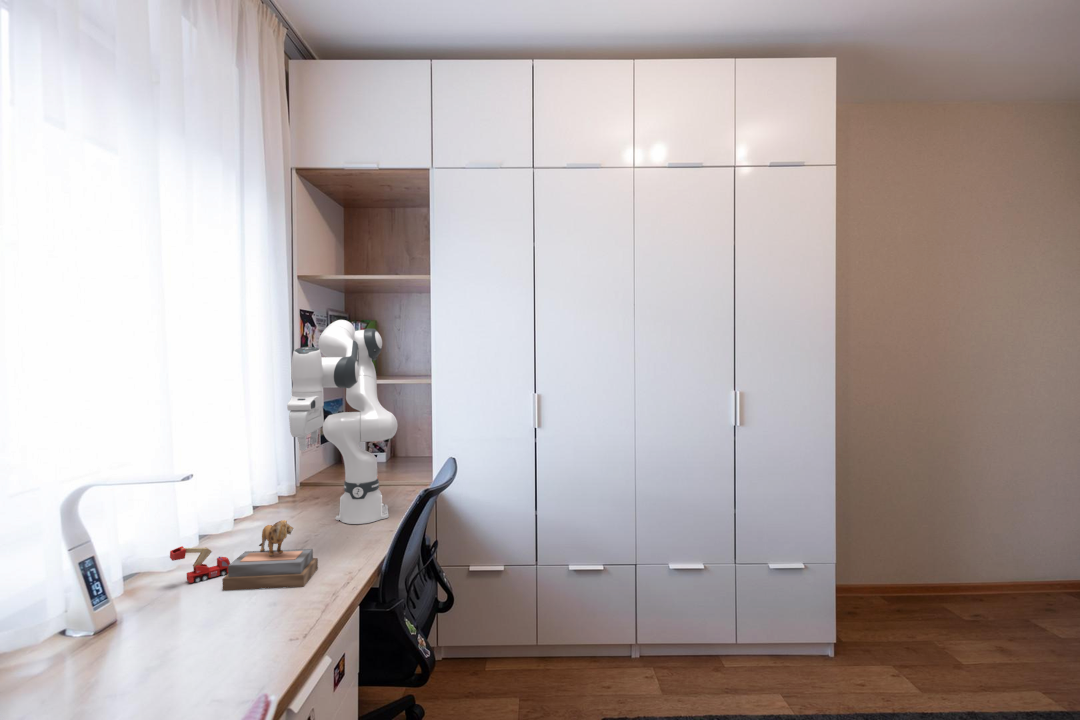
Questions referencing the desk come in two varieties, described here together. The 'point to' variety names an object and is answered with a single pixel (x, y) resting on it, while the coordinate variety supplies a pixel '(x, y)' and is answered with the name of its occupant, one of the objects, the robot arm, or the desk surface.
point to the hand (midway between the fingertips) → (308, 446)
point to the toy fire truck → (201, 569)
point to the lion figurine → (275, 535)
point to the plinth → (271, 580)
